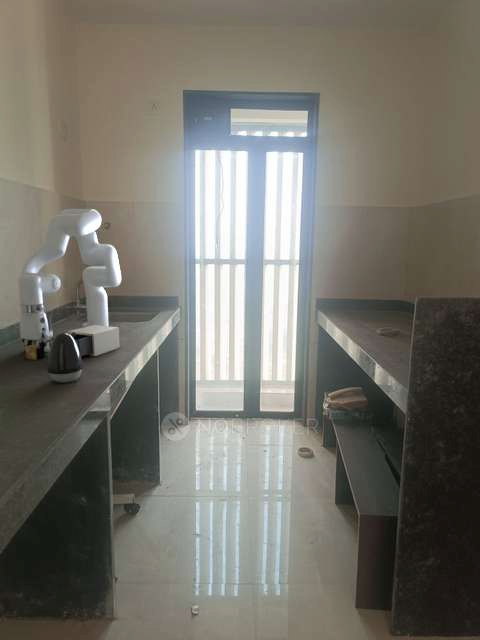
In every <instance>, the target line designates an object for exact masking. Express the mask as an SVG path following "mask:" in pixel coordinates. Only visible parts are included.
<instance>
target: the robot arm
mask: <svg viewBox="0 0 480 640" xmlns="http://www.w3.org/2000/svg"><path fill="white" fill-rule="evenodd" d="M101 224H102V216H101V214H100V211H98V210H96V209H94V208H66V209H63V210H61V211H60V212H59V214H56V215H53V216H52V217H51V218H50V220H49V222H48V226H47V229H46V232H45V235H44V237H43V242H42V245H41V246H40V247H39V248H38V249H37V250H35V252H34V253H32V255H30V256H29V258H27V260H26V261H25V262H24V264H23V267H22V270H21V273H20V275H19V277H18V278H17V286H18V297H19V298H18V299H19V309H20V314H19V335H18V337H19V339H20V340H21V341H22V344H23V347H25V348H26V347H27V346H30V345H33V340H36V344H37V348H36V352H37V359H36V360H39V359H44V358H45V357H46V352H45V351H44V347H46V344H47V343H48V342H49V341H50V338H49V328H48V322H47V318H46V314H45V313H46V312H44V309H45V307H44V300H43V294H54V293H56V292H58V291H59V290H60V288H61V285H62V284H61V283H62V282H61V279H60V278H59V276H58V275H56V274H54V273H50V272H49V273H46V272H44V273H43V272H39V271H40V270H41V269H42V268H43V267H44V266H45V265H47V264H49V263H51V262H53V261H56V260H57V259H60V258H62V257H63V256H64V255H65V254H66V250H67V247H68V245H69V240H70V238H71V237H75V239H76V242H77V245H78V249H79V254H80V257H81V260H82V262H83V263H84V264H85V265H88V267H85V268H84V269H83V271H82V274H81V275H82V282H83V286H84V290H85V302H86V303H85V304H86V305H85V306H86V322H84V323H83V324H82V325H81V326H82V327H81V328H84V327H88V326H92V325H101V326H109V325H110V324H109V307H108V306H109V305H108V295H107V294H108V293H107V292H106V290H105V289H104V288H117V287H118V286H120V284H121V282H122V273H121V272H122V271H121V268H120V263H119V258H118V253H117V250H116V248H115V247H114V246H113V245H112V244H109V243H100V242H99V241H98V237H97V232H96V231H97V230H98V229H99V228H100V226H101ZM39 341H41V343H40V342H39Z"/></svg>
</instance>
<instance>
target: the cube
mask: <svg viewBox="0 0 480 640" xmlns="http://www.w3.org/2000/svg"><path fill="white" fill-rule="evenodd" d="M36 348H37V344H34V345H30V346H27V347H25V356H26V359H28V360H33V361H36V360H38V359H37V352H36Z"/></svg>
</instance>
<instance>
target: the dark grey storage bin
mask: <svg viewBox="0 0 480 640" xmlns="http://www.w3.org/2000/svg"><path fill="white" fill-rule="evenodd" d="M70 335H71V334H70ZM54 338H55V337H53V338H52V341H53V339H54ZM73 339H74V340H75V342H76V344H77V346H78V349H79V352H80V355H81V357H83V356H88V355H87V354H90V353H93V345H92V336H87V335H79V334H76V335H75V336H74V337H73ZM44 351H45V353H49V351H50V348H44Z"/></svg>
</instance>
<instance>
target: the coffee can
mask: <svg viewBox="0 0 480 640" xmlns="http://www.w3.org/2000/svg"><path fill="white" fill-rule="evenodd" d="M44 313H45V314H46V318H47V322H48V328H49V338H50V341H49V342H48V343H47V344H46V347H44V348H50V347H51V344H52V338H54V335H53V323H52V322H53V321H52V314H51V313H46V312H44ZM39 342H40V343H41V341H39ZM34 344H36V340H33V345H34Z"/></svg>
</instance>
